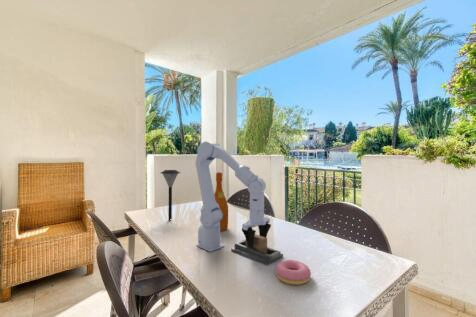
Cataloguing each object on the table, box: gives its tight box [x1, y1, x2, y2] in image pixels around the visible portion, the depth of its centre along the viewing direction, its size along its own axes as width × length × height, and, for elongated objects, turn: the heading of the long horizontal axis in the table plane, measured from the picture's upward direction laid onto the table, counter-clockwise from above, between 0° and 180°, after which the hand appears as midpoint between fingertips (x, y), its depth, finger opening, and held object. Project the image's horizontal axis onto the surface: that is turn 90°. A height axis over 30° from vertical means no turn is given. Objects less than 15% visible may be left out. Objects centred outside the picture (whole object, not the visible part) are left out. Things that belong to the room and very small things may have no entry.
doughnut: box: [274, 259, 312, 286], centre depth 73 cm, size 11×11×4 cm
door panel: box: [246, 233, 268, 254], centre depth 91 cm, size 9×2×6 cm, turn 46°
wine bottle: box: [214, 171, 229, 232], centre depth 122 cm, size 10×10×30 cm
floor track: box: [231, 239, 284, 266], centre depth 91 cm, size 18×10×2 cm, turn 46°
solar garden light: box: [160, 169, 181, 221], centre depth 139 cm, size 12×12×30 cm
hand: (256, 244), depth 91 cm, fingers open, 7 cm apart
